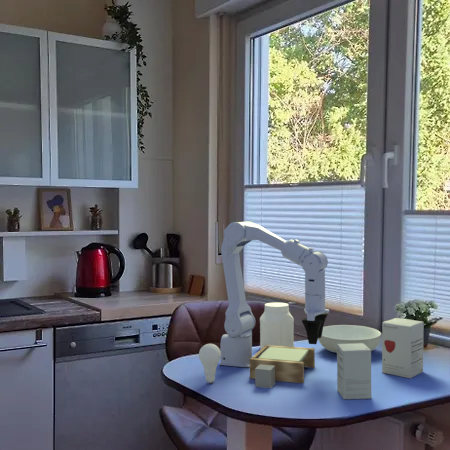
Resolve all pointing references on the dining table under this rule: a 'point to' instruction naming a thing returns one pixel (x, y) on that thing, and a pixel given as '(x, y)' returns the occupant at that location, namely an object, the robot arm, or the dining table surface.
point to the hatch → (283, 354)
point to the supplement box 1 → (354, 371)
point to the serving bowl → (349, 336)
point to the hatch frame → (285, 365)
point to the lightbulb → (209, 360)
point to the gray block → (265, 376)
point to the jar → (276, 325)
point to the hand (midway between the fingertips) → (315, 340)
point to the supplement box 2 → (402, 347)
